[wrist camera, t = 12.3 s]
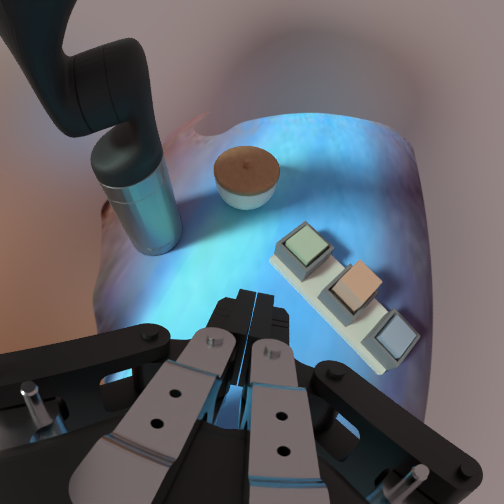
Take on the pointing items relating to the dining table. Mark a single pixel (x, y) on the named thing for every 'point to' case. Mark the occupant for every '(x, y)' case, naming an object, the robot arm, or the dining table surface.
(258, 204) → the lidded jar
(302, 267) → the keypad board
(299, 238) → the sage key
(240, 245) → the dining table surface
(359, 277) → the terracotta key
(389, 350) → the slate key
